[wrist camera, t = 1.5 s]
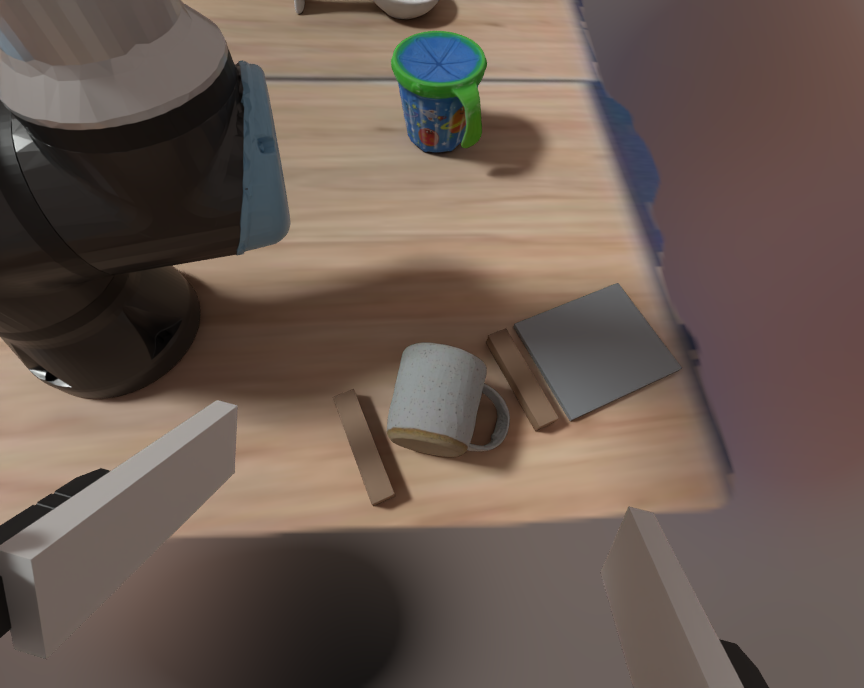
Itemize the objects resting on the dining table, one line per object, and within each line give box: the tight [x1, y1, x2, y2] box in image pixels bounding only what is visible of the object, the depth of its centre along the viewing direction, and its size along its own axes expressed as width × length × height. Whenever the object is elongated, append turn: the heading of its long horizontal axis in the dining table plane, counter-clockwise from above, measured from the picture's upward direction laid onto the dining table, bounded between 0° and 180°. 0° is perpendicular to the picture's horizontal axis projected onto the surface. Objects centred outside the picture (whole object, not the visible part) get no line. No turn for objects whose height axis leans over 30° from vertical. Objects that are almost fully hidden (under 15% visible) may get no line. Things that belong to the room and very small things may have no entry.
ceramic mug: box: [387, 343, 510, 457], centre depth 36 cm, size 11×8×8 cm
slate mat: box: [513, 283, 682, 421], centre depth 43 cm, size 11×13×1 cm
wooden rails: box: [333, 328, 558, 506], centre depth 39 cm, size 10×18×2 cm, turn 114°
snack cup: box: [391, 31, 487, 152], centre depth 51 cm, size 16×10×10 cm
